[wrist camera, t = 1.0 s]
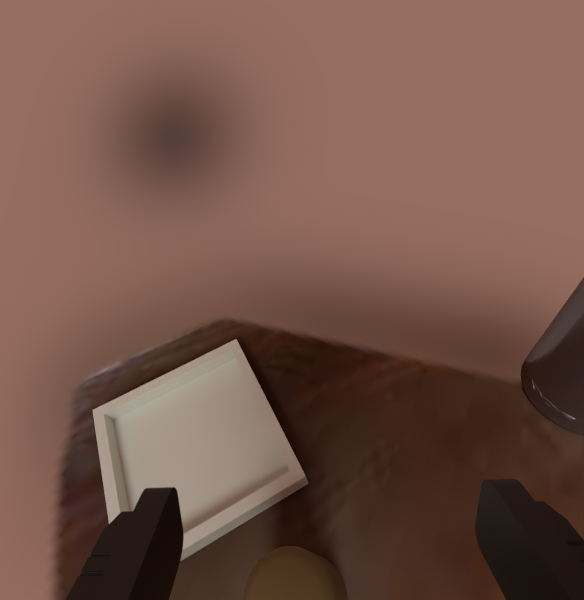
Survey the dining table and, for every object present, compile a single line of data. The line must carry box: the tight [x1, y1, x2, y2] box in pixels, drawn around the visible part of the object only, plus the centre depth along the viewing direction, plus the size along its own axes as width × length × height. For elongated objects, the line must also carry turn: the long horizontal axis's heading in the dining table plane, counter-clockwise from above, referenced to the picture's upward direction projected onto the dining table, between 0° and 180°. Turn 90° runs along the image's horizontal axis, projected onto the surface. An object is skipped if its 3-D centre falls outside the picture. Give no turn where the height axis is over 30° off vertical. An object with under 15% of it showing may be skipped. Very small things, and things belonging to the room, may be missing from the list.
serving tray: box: [93, 339, 309, 561], centre depth 35 cm, size 16×16×2 cm
